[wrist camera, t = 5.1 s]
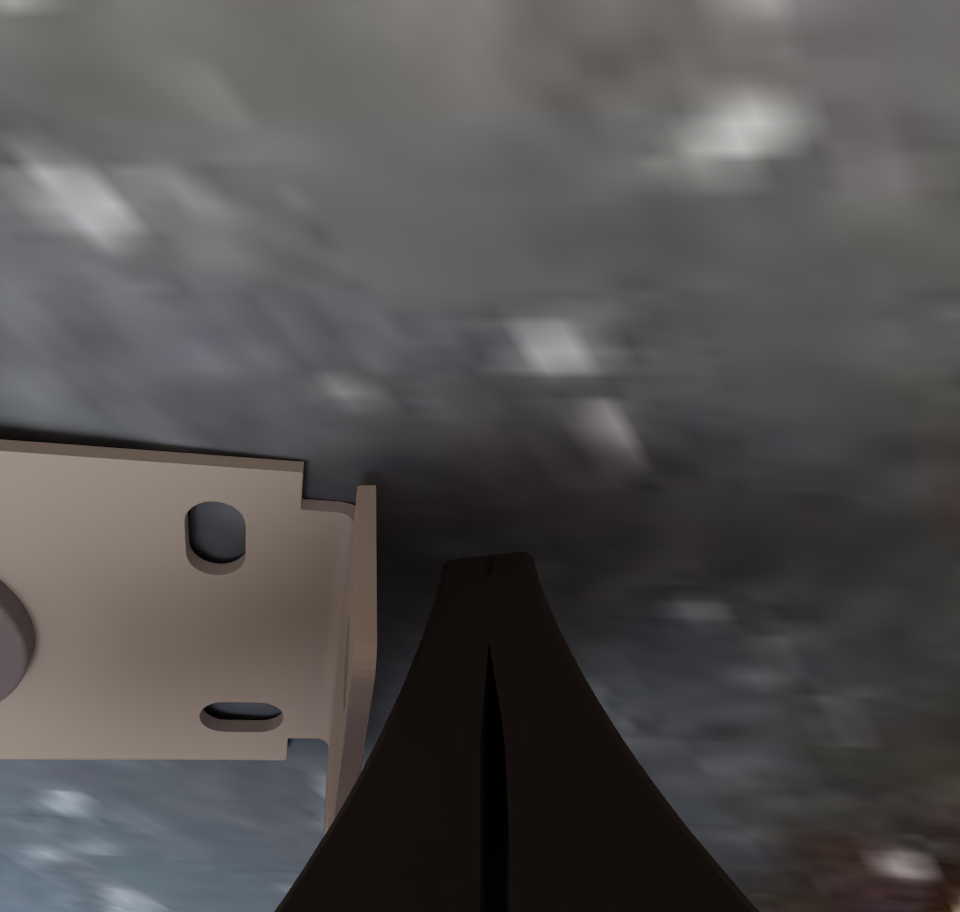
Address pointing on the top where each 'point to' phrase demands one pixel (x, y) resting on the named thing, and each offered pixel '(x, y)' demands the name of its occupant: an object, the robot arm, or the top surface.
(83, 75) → the top surface
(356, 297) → the top surface
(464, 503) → the top surface
